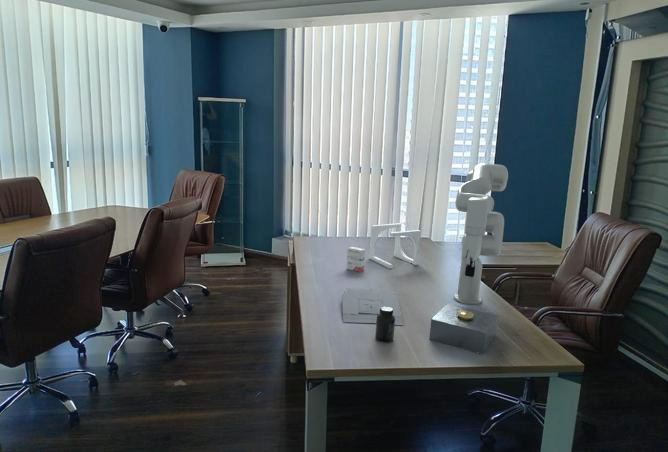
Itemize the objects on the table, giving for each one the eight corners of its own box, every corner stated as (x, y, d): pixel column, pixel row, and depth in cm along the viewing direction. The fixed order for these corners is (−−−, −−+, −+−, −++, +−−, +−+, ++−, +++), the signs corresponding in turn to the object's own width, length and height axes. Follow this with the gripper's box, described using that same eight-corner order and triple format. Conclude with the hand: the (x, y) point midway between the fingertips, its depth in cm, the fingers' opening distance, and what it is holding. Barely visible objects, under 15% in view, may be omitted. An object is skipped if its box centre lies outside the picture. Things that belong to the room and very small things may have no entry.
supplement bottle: (392, 335, 188) (394, 305, 185) (394, 343, 181) (397, 312, 179) (374, 334, 188) (376, 304, 185) (376, 342, 181) (378, 311, 178)
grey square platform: (445, 322, 203) (448, 303, 201) (495, 334, 193) (498, 315, 192) (429, 339, 186) (431, 318, 184) (482, 354, 176) (485, 332, 175)
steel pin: (457, 331, 194) (460, 309, 191) (472, 336, 191) (475, 312, 189) (452, 337, 188) (455, 314, 186) (468, 341, 186) (471, 317, 183)
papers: (395, 296, 226) (395, 289, 225) (402, 331, 198) (403, 323, 197) (342, 293, 226) (342, 286, 225) (342, 328, 198) (342, 320, 196)
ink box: (364, 270, 266) (366, 249, 264) (360, 272, 262) (361, 250, 260) (350, 266, 271) (352, 246, 268) (346, 268, 267) (347, 247, 264)
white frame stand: (417, 264, 282) (421, 230, 278) (389, 268, 272) (392, 233, 268) (396, 255, 299) (399, 223, 295) (369, 258, 289) (371, 225, 285)
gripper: (470, 224, 195) (465, 268, 200) (459, 232, 183) (454, 279, 187) (489, 228, 191) (484, 272, 196) (479, 236, 179) (473, 283, 184)
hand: (469, 275), depth 192 cm, fingers closed
